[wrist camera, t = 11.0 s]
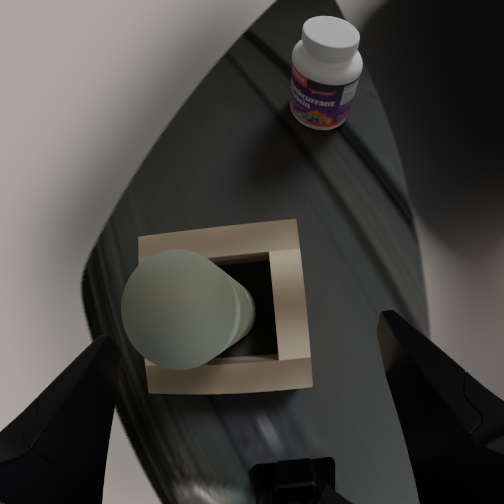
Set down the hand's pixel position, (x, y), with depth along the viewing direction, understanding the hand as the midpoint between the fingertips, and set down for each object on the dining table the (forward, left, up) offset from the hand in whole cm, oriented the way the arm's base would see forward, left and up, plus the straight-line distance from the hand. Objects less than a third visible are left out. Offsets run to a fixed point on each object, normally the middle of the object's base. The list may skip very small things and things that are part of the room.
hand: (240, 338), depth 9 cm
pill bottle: (+18, -7, -14) cm, 24 cm away
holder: (+1, +2, -13) cm, 14 cm away
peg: (+1, +2, -13) cm, 14 cm away
